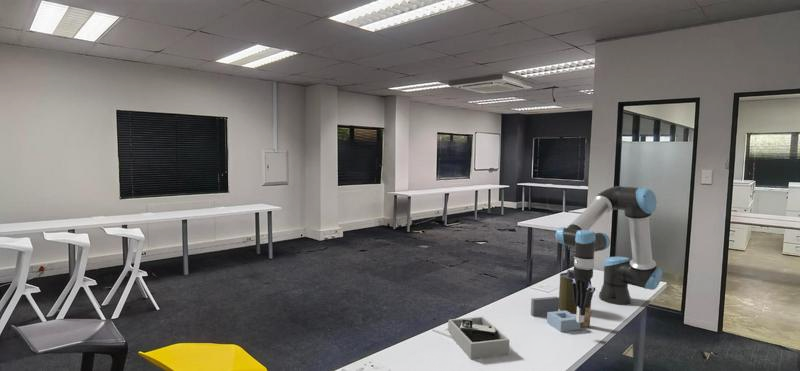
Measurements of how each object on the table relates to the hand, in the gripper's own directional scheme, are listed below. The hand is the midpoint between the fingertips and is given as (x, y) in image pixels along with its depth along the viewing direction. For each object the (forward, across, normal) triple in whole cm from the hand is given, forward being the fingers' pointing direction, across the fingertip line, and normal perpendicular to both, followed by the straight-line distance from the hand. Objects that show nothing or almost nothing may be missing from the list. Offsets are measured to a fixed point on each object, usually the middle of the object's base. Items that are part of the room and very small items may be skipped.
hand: (580, 321), depth 175 cm
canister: (+7, -28, +16) cm, 33 cm away
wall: (+7, -25, 0) cm, 26 cm away
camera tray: (+7, -4, -46) cm, 46 cm away
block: (+7, -11, 0) cm, 13 cm away
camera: (+7, -4, -45) cm, 46 cm away
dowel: (+7, -9, +10) cm, 15 cm away
